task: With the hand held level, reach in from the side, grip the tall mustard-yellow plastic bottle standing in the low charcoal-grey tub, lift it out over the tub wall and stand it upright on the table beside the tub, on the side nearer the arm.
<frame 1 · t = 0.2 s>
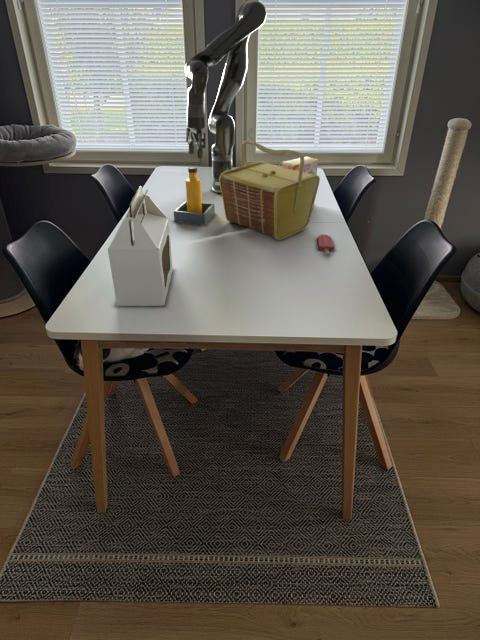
hand: (195, 155, 196), 17 cm above the table, tool pointing down, fingers open, 8 cm apart
tub: (195, 218, 181), on the table
gable box: (146, 287, 135), on the table
coffeecake box: (296, 207, 194), on the table
popsicle: (325, 247, 160), on the table
picnic basket: (267, 226, 175), on the table
bottle: (194, 217, 181), point 1 cm above the table, touching tub
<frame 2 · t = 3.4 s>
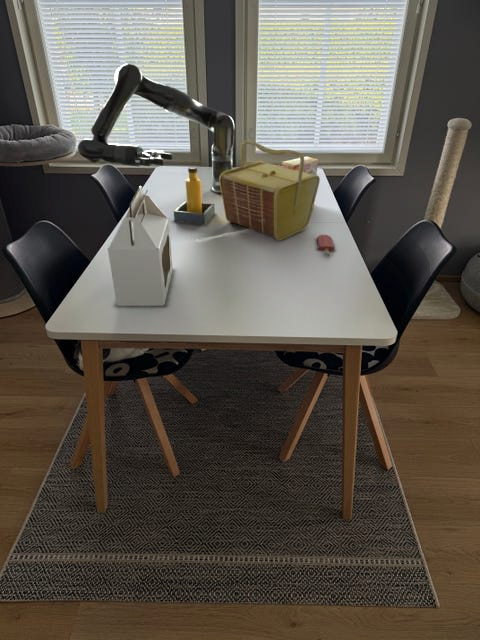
hand: (167, 159, 171), 22 cm above the table, tool horizontal, fingers open, 8 cm apart
nothing on the table moved.
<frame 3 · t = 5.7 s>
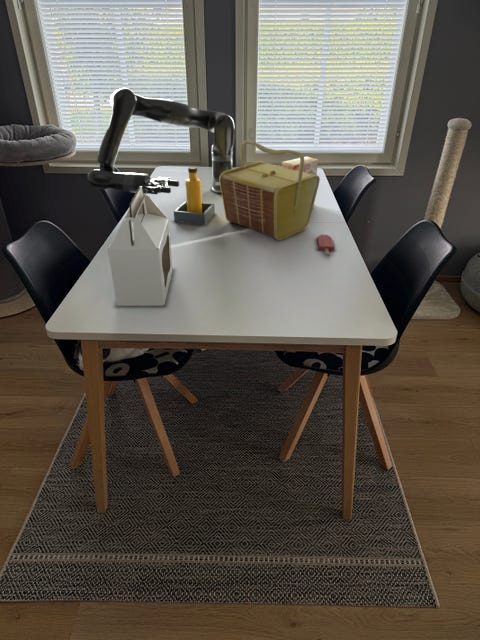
hand: (174, 187, 176), 12 cm above the table, tool horizontal, fingers open, 8 cm apart
nothing on the table moved.
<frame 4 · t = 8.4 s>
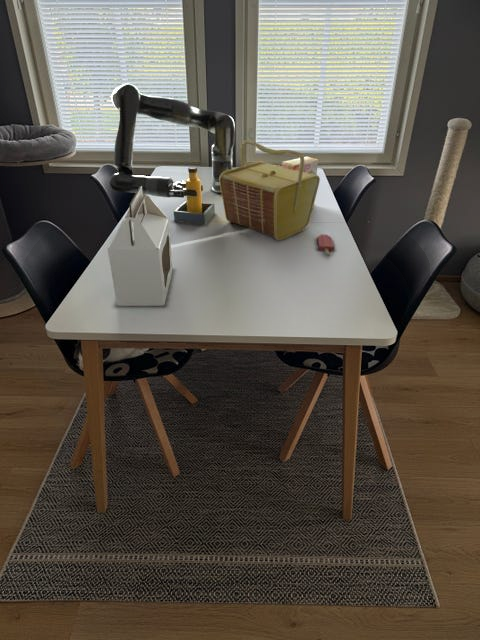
hand: (199, 190, 174), 12 cm above the table, tool horizontal, fingers closed on bottle, 6 cm apart
bottle: (194, 217, 181), point 1 cm above the table, touching gripper, tub
everything else where it was.
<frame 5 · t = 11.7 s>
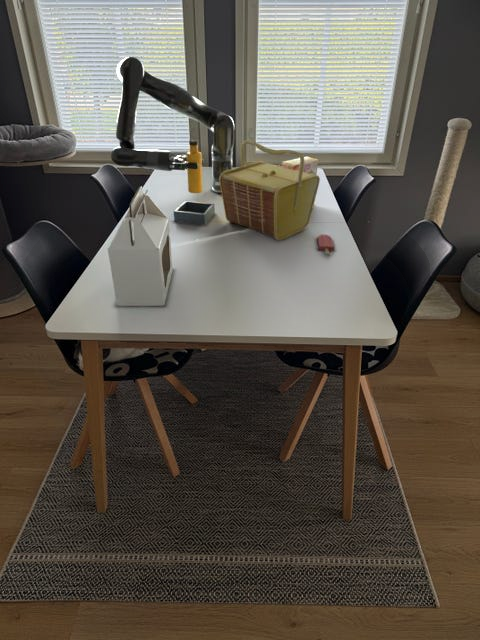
hand: (200, 164, 176), 20 cm above the table, tool horizontal, fingers closed on bottle, 6 cm apart
bottle: (195, 191, 182), point 9 cm above the table, touching gripper
everything else where it was.
when the fingers open (11 cm above the table, at t = 15.4 s): bottle stays where it is, on the table.
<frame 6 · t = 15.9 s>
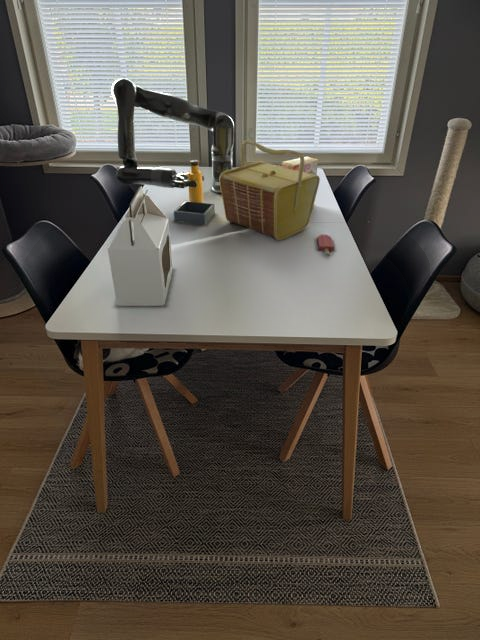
hand: (200, 181, 184), 12 cm above the table, tool horizontal, fingers open, 8 cm apart
bottle: (196, 208, 191), on the table
everything else where it was.
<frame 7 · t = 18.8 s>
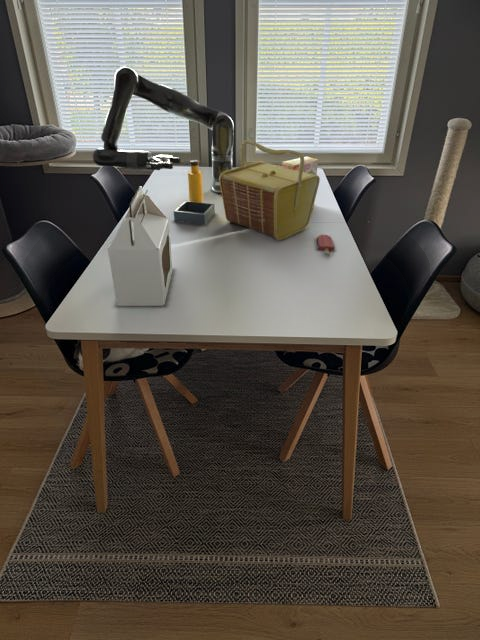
hand: (176, 163, 183), 18 cm above the table, tool horizontal, fingers open, 8 cm apart
nothing on the table moved.
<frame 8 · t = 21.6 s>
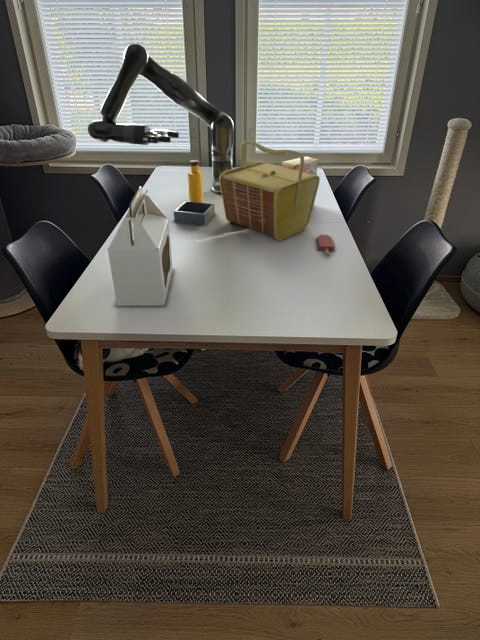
hand: (174, 137, 177), 28 cm above the table, tool horizontal, fingers open, 8 cm apart
nothing on the table moved.
at the end: bottle inside the target area (0.2 cm from its centre), on the table; bottle touching table; bottle tilted 0° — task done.
